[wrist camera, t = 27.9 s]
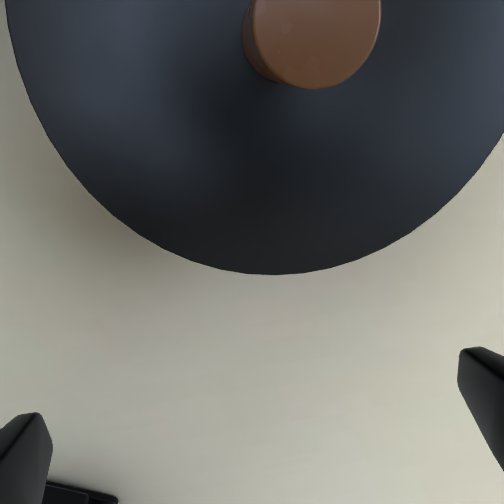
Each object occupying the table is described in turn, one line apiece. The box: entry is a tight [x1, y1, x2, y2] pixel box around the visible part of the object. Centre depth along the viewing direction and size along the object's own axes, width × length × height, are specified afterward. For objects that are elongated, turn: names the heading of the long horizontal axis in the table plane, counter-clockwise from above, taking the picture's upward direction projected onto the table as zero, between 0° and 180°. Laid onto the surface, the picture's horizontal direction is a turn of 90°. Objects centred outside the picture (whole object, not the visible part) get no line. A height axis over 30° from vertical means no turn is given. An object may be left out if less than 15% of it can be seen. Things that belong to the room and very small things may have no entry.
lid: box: [5, 0, 504, 275], centre depth 11 cm, size 15×15×5 cm
